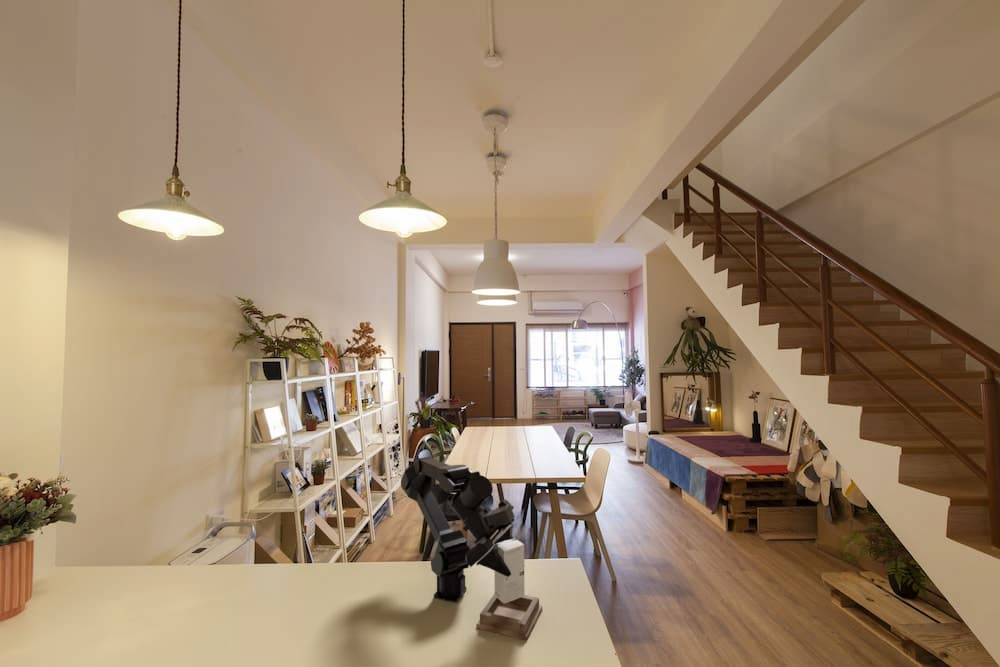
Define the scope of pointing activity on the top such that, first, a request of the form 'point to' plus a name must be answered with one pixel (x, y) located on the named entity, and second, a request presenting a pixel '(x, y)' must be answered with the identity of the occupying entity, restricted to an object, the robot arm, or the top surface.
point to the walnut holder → (510, 616)
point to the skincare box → (514, 560)
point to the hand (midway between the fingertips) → (515, 567)
